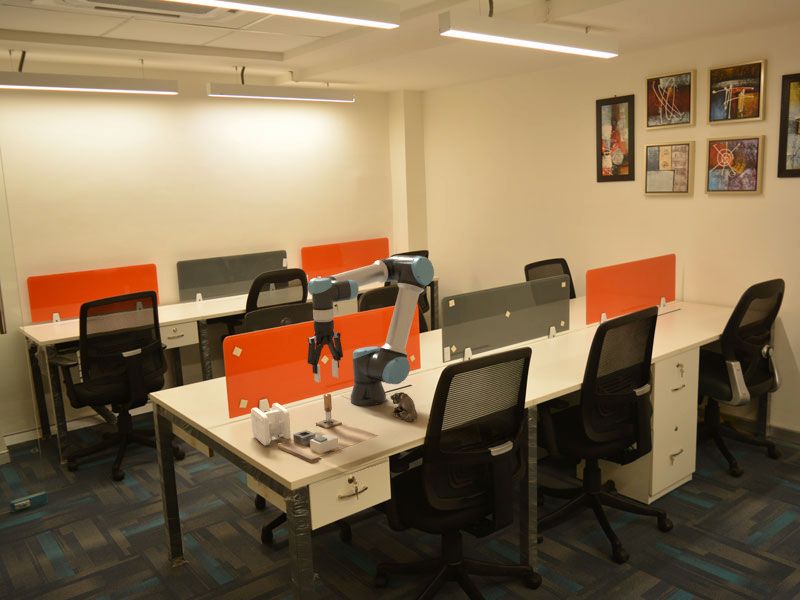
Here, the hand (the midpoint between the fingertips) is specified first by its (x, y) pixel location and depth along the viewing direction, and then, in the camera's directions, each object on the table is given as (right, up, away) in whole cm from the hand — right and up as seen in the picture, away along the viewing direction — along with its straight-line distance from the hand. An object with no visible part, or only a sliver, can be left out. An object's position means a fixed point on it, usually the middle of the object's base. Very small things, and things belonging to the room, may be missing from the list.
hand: (326, 379), depth 260 cm
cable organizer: (-20, -22, -7) cm, 30 cm away
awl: (+1, -19, +3) cm, 19 cm away
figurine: (+30, -17, +11) cm, 36 cm away
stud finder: (+1, -22, -21) cm, 30 cm away
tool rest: (+1, -19, +3) cm, 19 cm away
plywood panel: (+2, -22, -13) cm, 25 cm away
